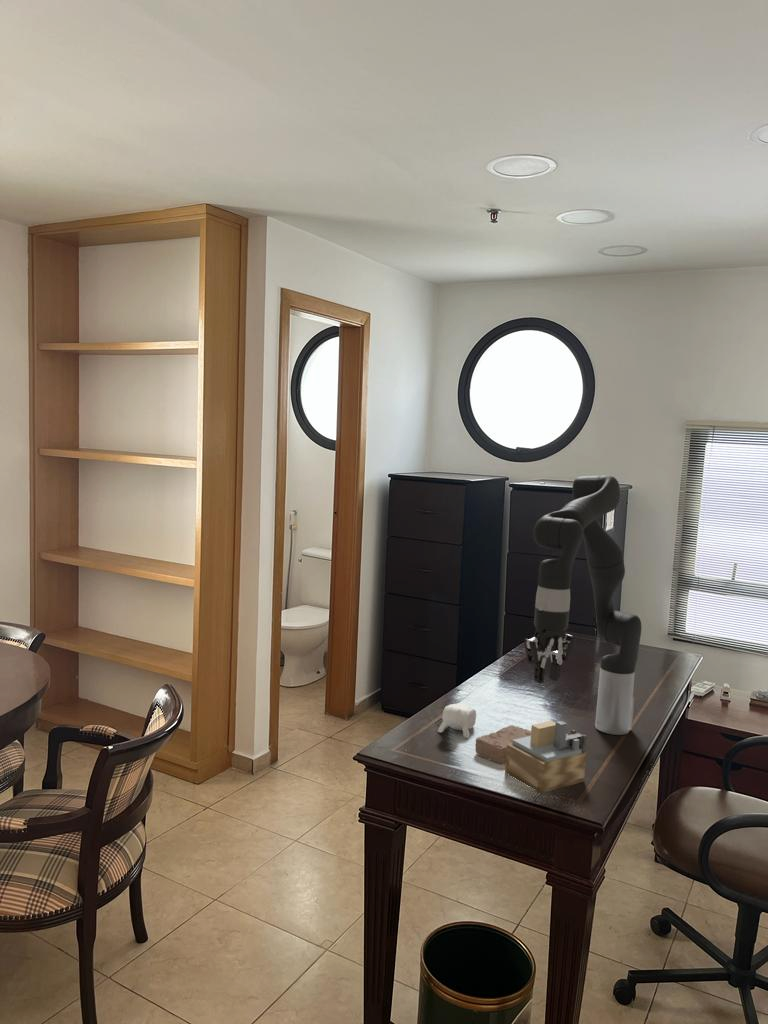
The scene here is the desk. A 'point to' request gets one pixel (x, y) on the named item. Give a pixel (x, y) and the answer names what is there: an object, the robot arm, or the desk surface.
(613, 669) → the robot arm
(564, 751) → the lid
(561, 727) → the grey angled block
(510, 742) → the brick
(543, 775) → the wooden box
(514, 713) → the desk surface
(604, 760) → the desk surface
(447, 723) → the white animal figurine
